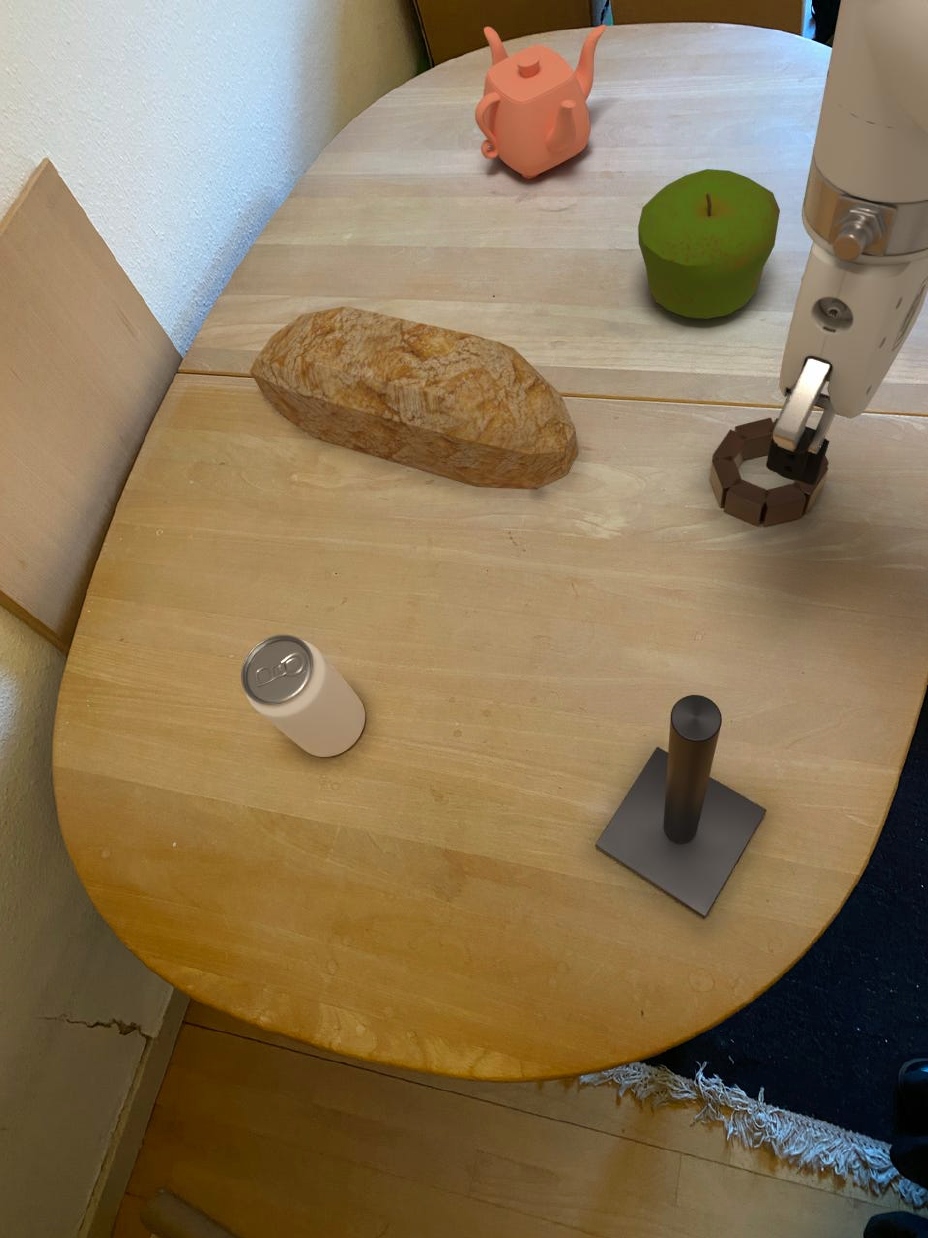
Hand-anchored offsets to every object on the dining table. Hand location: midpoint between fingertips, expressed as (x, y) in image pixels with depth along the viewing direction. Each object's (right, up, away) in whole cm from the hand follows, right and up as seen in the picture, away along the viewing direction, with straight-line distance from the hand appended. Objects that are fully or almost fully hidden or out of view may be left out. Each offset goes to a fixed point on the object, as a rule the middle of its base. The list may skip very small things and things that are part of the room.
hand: (823, 418), depth 54 cm
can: (-35, -22, +18) cm, 45 cm away
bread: (-29, +7, +31) cm, 43 cm away
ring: (+3, -1, +20) cm, 20 cm away
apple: (+1, +20, +31) cm, 37 cm away
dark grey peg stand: (-7, -29, +8) cm, 31 cm away
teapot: (-13, +44, +46) cm, 65 cm away
